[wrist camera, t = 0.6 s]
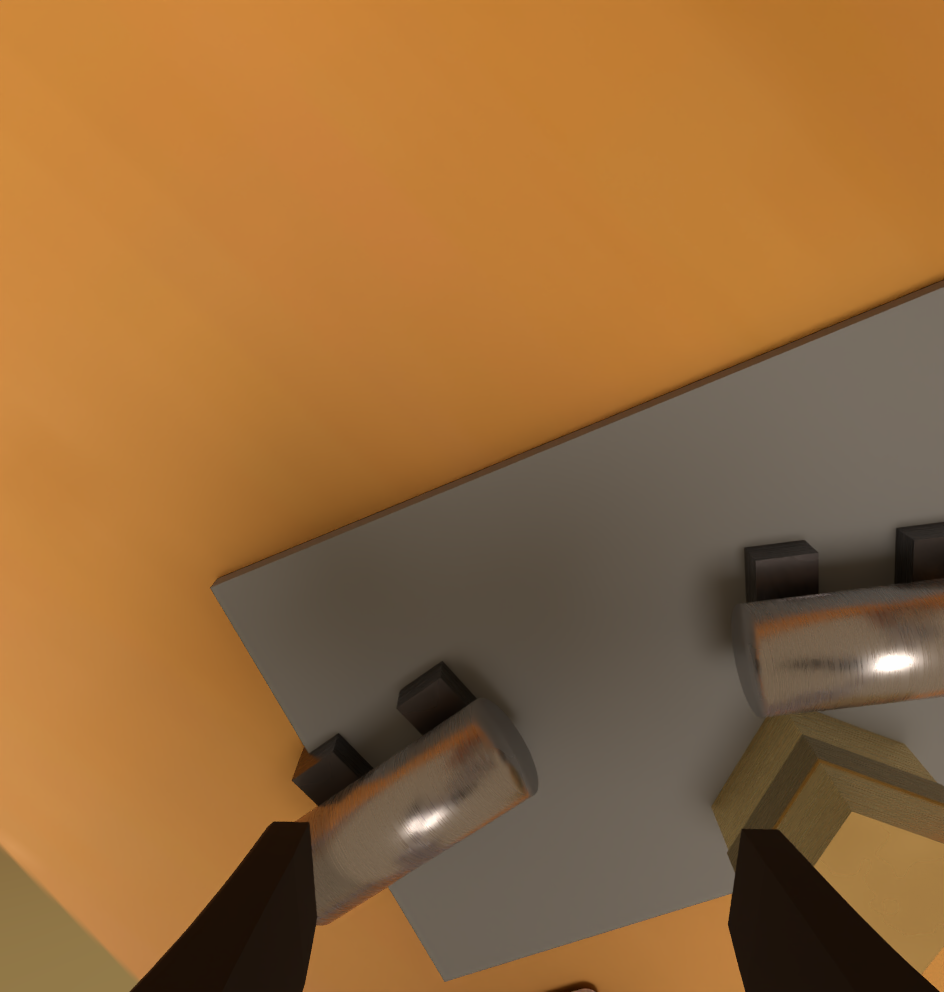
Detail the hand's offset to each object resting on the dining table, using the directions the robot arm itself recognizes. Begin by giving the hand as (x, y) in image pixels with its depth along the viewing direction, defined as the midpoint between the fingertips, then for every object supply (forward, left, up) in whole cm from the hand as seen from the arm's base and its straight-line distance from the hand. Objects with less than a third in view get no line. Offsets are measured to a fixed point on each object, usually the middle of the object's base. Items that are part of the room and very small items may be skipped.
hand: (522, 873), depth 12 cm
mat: (-4, -3, -10) cm, 11 cm away
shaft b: (-3, +4, -10) cm, 11 cm away
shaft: (-3, -9, -10) cm, 13 cm away
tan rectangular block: (-8, -6, -9) cm, 14 cm away
